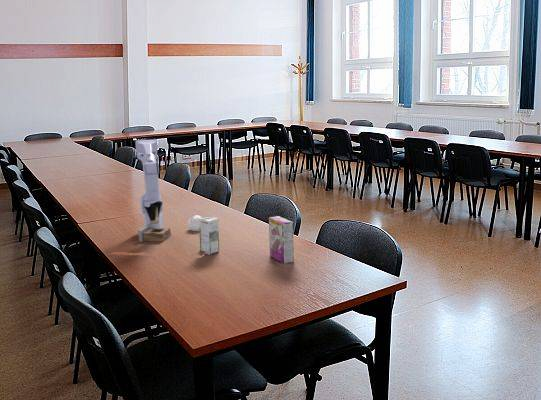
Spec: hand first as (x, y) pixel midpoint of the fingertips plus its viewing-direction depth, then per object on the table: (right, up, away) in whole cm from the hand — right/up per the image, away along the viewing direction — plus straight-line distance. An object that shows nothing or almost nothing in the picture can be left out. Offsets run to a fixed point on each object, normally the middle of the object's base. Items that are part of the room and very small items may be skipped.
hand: (154, 219), depth 247 cm
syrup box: (+27, -13, -16) cm, 34 cm away
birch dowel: (0, -2, 0) cm, 2 cm away
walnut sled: (+1, -9, +2) cm, 9 cm away
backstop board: (+4, -10, +2) cm, 11 cm away
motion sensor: (+17, -7, +15) cm, 24 cm away
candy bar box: (+56, -15, -28) cm, 64 cm away
